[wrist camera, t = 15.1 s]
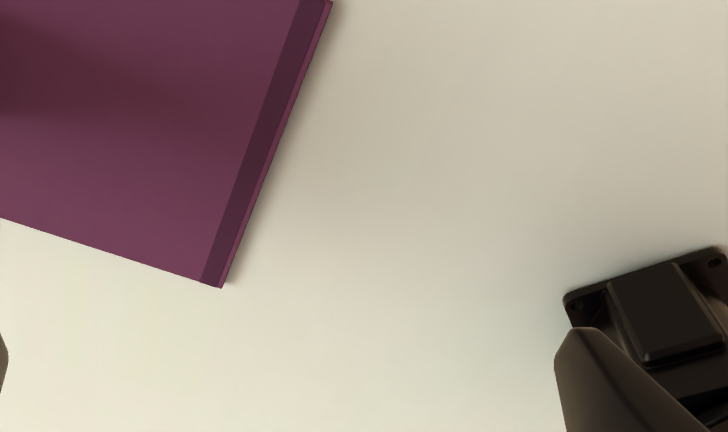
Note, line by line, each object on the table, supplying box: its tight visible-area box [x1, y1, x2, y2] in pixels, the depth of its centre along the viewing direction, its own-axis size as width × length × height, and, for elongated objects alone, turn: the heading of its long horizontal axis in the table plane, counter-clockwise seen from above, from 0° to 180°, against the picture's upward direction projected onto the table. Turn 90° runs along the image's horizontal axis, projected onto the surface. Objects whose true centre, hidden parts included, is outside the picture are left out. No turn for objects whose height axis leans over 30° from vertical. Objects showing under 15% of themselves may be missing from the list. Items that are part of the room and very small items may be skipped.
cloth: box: [0, 0, 333, 289], centre depth 19 cm, size 18×13×1 cm
